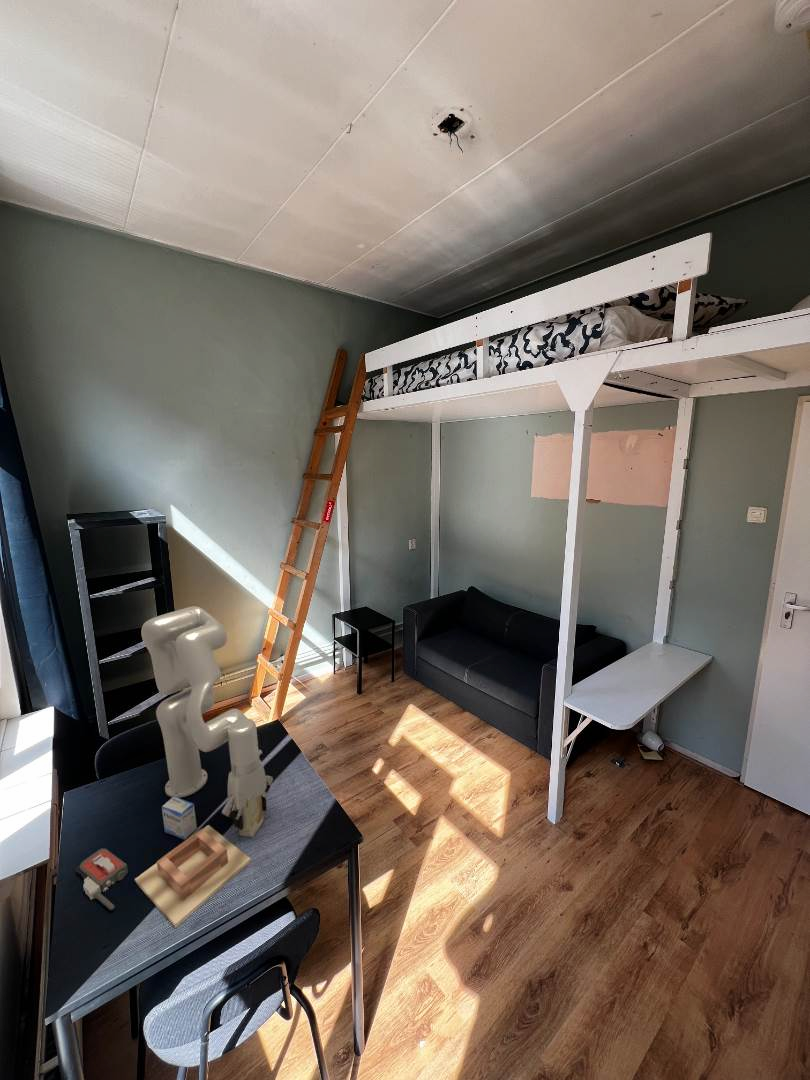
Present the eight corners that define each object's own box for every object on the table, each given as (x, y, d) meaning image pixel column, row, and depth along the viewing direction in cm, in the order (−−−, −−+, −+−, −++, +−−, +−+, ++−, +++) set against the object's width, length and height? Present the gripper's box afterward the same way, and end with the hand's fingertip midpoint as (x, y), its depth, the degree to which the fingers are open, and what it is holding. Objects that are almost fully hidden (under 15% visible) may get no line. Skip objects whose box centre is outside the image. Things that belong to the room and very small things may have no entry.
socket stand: (135, 882, 110) (132, 865, 109) (208, 827, 126) (206, 812, 125) (175, 928, 99) (173, 909, 98) (250, 861, 115) (249, 845, 114)
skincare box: (252, 838, 122) (249, 800, 120) (239, 835, 123) (235, 798, 121) (264, 819, 129) (261, 783, 126) (251, 817, 129) (247, 781, 127)
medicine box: (164, 832, 125) (160, 806, 124) (177, 821, 129) (174, 795, 128) (184, 840, 122) (181, 814, 121) (197, 828, 126) (194, 802, 125)
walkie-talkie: (67, 880, 112) (109, 917, 102) (64, 865, 111) (106, 901, 101) (104, 853, 119) (146, 885, 110) (102, 839, 119) (144, 871, 109)
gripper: (262, 742, 131) (267, 793, 134) (209, 776, 117) (215, 833, 120) (279, 751, 127) (283, 804, 130) (225, 787, 113) (231, 846, 116)
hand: (251, 817), depth 125 cm, fingers closed on skincare box, 7 cm apart
